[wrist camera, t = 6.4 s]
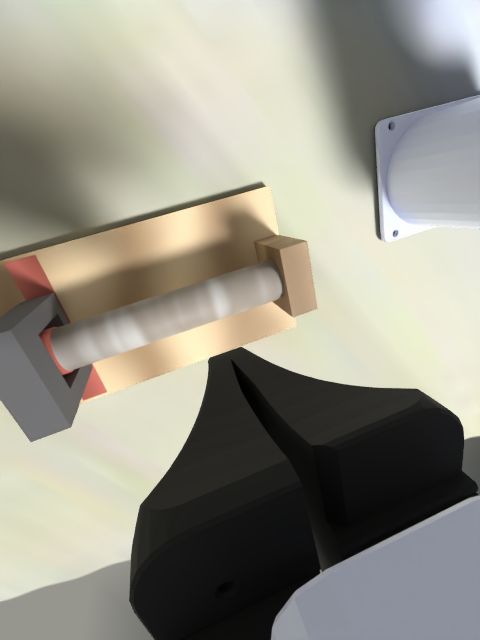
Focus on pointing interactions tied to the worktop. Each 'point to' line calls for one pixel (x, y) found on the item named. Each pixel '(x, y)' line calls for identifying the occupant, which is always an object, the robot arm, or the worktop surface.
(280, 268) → the pipe rig
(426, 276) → the worktop surface
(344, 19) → the worktop surface
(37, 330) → the collar
